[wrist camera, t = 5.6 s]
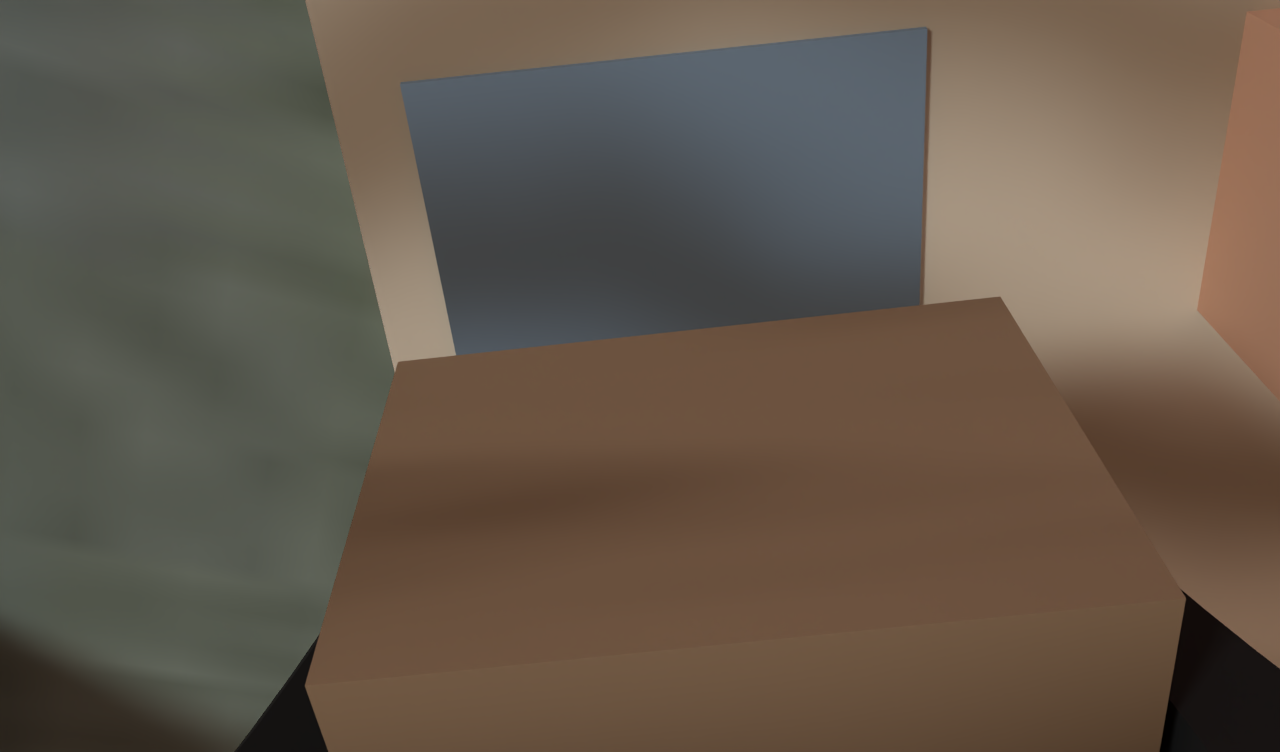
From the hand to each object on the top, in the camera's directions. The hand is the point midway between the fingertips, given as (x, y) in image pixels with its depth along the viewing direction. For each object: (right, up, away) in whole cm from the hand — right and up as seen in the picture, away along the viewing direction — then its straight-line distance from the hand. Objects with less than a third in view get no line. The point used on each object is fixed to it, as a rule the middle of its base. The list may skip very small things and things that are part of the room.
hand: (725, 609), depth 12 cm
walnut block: (0, 0, +1) cm, 1 cm away
